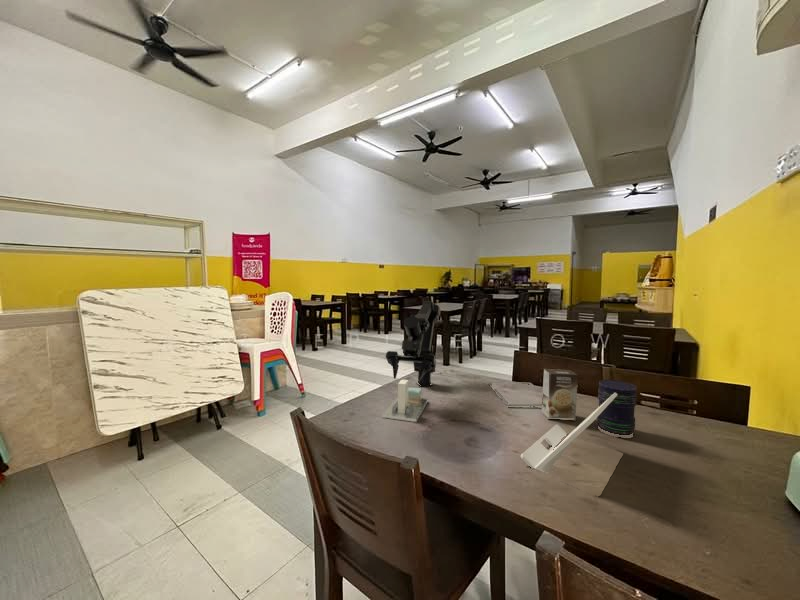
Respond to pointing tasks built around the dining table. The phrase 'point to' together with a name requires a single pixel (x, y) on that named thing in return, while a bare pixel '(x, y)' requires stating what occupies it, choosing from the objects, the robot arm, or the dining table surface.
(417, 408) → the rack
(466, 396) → the dining table surface
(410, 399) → the block
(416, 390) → the offcut top
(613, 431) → the storage jar
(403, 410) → the cream rectangular block
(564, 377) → the cookie box
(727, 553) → the dining table surface
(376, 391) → the dining table surface
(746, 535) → the dining table surface
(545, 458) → the tablet stand
